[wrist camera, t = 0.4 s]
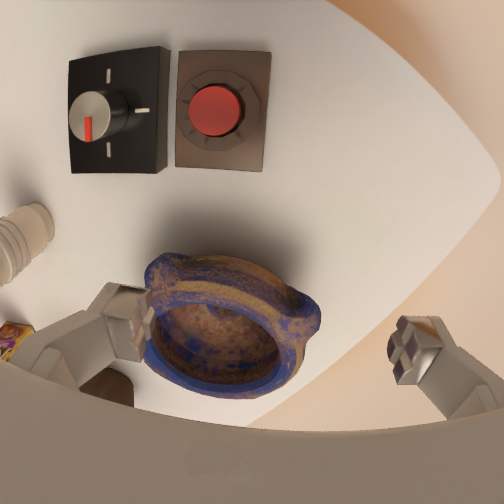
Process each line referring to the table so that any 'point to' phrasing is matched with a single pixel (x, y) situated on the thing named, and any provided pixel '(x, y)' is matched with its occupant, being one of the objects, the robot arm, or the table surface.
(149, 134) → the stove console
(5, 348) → the candy box
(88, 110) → the knob
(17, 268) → the beige ribbed cylinder
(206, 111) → the igniter button
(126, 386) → the flower pot
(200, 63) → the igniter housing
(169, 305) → the bowl
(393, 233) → the table surface
